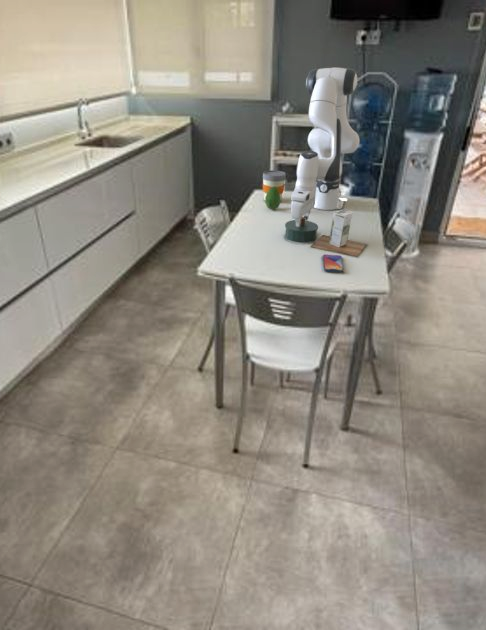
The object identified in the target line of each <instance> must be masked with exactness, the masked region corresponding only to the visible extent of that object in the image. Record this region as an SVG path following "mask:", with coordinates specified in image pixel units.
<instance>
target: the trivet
mask: <svg viewBox="0 0 486 630" xmlns="http://www.w3.org/2000/svg"><path fill="white" fill-rule="evenodd" d="M329 239H330V235H325V234H322V235H321V236H320V237H319V238H318V239H317V240H315V241H314V242H313V244H312V245H311V248H314V249H318V250H323V251H327V252H332V253H337V254H340V255H346V256H350V257H356V258H358V257H359V255H360V254H361V253H362V252H363V251H364V249H365V247H366V246H367V243H365V242H360V241H355V240H350V239H348V240H347V244H346V245H344V246H342V247H340V248H339V247H336V246H333V245H330V244H329Z"/></svg>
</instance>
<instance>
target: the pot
mask: <svg viewBox="0 0 486 630" xmlns="http://www.w3.org/2000/svg"><path fill="white" fill-rule="evenodd" d="M317 232H318V229H317V230H316V231H314V232H309V233H300V232H294V231H291V230H288V229H287V228H286V227H285V232H284V233H285V235H284V238H285V239H287V240H288V241H290V242H294V243H301V244H302V243H303V244H304V243H315V242H316V241H317V240H316V239H317Z"/></svg>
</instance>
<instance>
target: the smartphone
mask: <svg viewBox="0 0 486 630" xmlns="http://www.w3.org/2000/svg"><path fill="white" fill-rule="evenodd" d="M322 261H323V270H324V272H334V273H343V272H344V270H345V269H344V263H343V257H342V256H341V255H338V254H327V253H326V254H325V253H324V254H323V255H322Z"/></svg>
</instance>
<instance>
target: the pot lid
mask: <svg viewBox="0 0 486 630" xmlns="http://www.w3.org/2000/svg"><path fill="white" fill-rule="evenodd" d="M300 222H301V225H300V226H299V227H297V226H296V221H295V219H292V220H289V221H286V223H284V227H285V229H286V228H287V229H288V230H291V231H294V232H300V233H309V232H314V231H316V230H317V231H318V229H319V225H318V223H316V222H314V221H311V220H305V217H304V216H302V217H301V219H300Z"/></svg>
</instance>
